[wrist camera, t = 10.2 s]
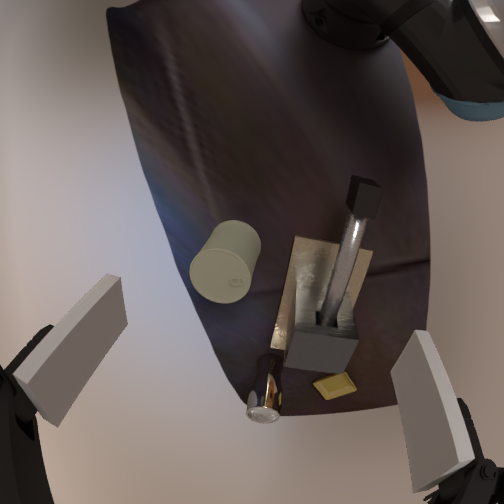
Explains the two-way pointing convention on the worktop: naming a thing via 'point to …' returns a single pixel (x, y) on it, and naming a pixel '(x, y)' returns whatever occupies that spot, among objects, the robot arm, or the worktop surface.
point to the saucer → (334, 385)
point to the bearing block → (317, 308)
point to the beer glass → (266, 390)
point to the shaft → (349, 244)
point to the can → (226, 262)
